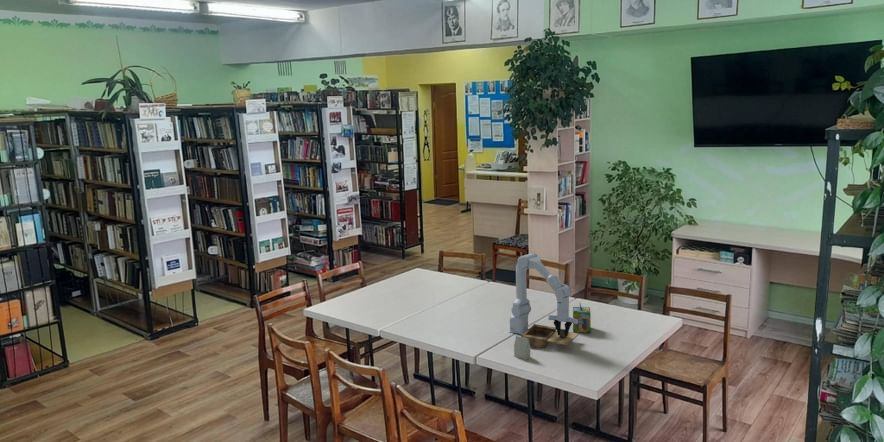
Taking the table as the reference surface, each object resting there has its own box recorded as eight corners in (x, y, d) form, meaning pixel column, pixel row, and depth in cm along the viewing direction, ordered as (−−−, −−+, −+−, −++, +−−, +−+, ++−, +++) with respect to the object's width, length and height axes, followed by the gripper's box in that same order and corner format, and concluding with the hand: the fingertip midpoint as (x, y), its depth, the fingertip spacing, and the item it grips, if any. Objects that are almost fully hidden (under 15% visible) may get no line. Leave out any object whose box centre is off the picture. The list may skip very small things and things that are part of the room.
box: (521, 345, 309) (521, 335, 308) (534, 332, 324) (534, 324, 323) (543, 349, 303) (543, 339, 302) (555, 336, 318) (556, 327, 317)
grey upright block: (526, 359, 292) (526, 340, 290) (514, 356, 296) (514, 336, 294) (530, 357, 294) (530, 337, 292) (518, 353, 299) (518, 334, 297)
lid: (547, 341, 303) (547, 333, 302) (557, 331, 316) (557, 323, 315) (568, 345, 297) (568, 337, 297) (578, 334, 310) (578, 326, 309)
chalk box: (590, 333, 321) (591, 306, 318) (572, 332, 323) (573, 306, 320) (590, 326, 330) (590, 300, 327) (572, 326, 332) (572, 300, 329)
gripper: (546, 309, 304) (546, 335, 307) (574, 314, 297) (574, 340, 299) (551, 305, 310) (551, 330, 312) (579, 309, 303) (578, 335, 305)
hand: (562, 335), depth 306 cm, fingers closed on lid, 3 cm apart
